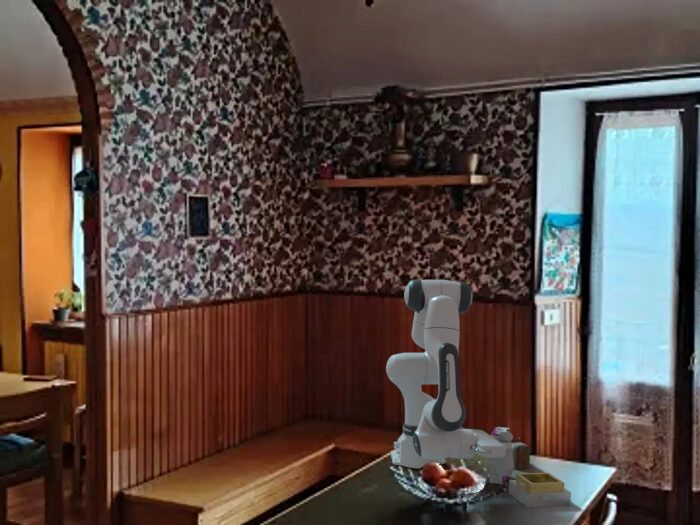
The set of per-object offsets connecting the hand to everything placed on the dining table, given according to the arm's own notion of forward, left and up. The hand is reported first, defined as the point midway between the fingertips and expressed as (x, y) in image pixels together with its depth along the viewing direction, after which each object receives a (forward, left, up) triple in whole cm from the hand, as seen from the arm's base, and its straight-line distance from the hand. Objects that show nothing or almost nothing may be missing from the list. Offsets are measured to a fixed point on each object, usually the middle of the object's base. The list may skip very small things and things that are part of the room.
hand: (508, 443), depth 263 cm
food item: (-36, +17, -17) cm, 43 cm away
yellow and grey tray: (+3, +10, -17) cm, 20 cm away
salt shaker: (0, -1, -10) cm, 10 cm away
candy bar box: (-18, +5, -17) cm, 25 cm away
